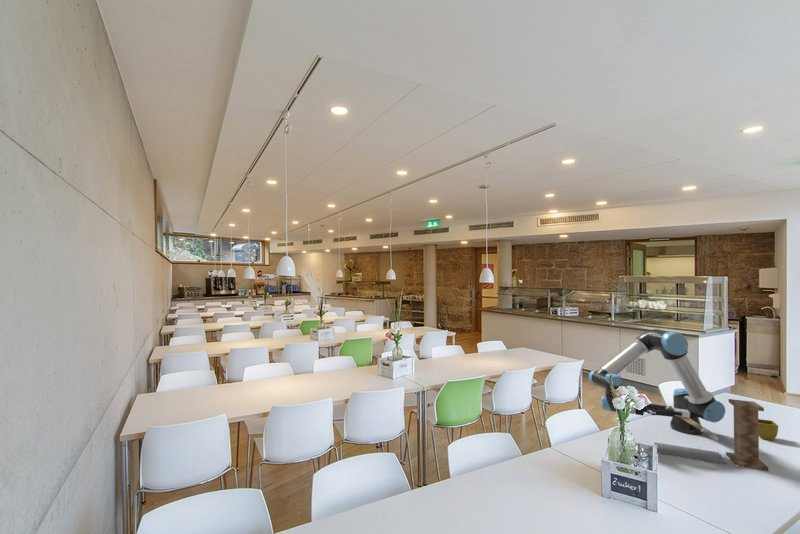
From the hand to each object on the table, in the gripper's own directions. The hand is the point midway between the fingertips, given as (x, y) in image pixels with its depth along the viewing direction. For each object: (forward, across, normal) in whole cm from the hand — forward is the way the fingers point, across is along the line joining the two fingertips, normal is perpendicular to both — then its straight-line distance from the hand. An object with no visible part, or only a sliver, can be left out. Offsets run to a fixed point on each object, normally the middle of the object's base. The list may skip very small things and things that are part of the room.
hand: (688, 413), depth 194 cm
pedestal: (+22, 0, -20) cm, 30 cm away
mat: (0, 0, -20) cm, 20 cm away
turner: (0, 0, -5) cm, 5 cm away
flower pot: (+44, -42, -20) cm, 64 cm away
